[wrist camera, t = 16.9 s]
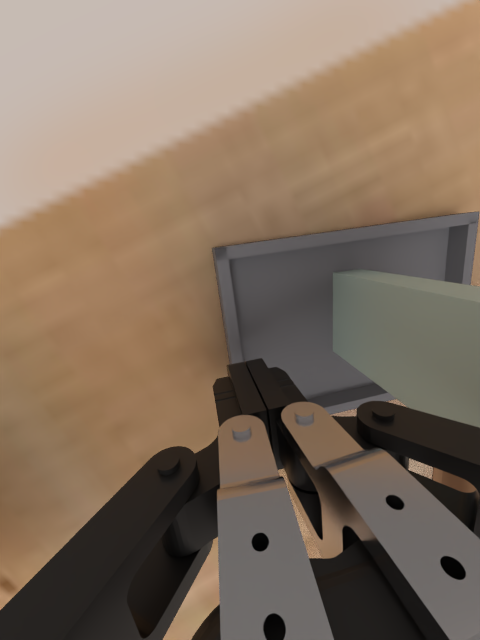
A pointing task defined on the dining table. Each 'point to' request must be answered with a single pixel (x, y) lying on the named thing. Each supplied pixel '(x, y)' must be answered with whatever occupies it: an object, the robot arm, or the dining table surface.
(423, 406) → the pale green rectangular block
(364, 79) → the dining table surface
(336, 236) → the charcoal tray
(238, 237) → the dining table surface
